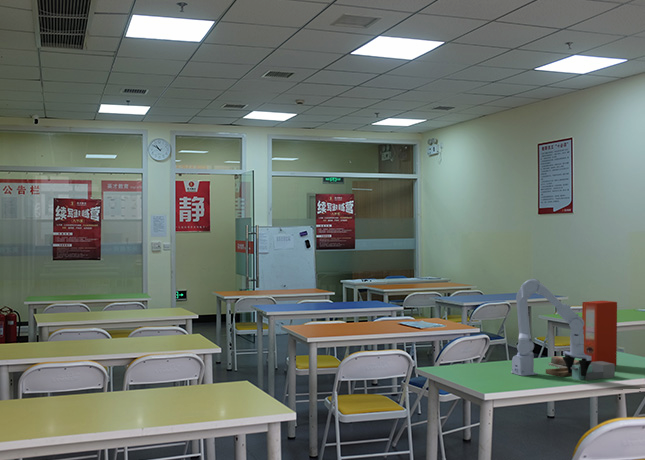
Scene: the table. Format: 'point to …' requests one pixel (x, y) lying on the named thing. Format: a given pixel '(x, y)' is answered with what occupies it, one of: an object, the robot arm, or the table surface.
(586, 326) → the file binder
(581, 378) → the tall teal block
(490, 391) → the table surface
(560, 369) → the tray
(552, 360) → the packaged product
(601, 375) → the bay
